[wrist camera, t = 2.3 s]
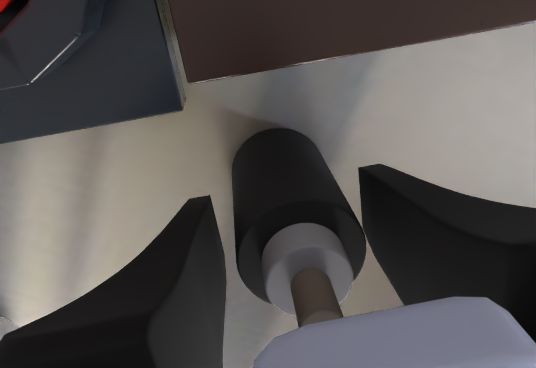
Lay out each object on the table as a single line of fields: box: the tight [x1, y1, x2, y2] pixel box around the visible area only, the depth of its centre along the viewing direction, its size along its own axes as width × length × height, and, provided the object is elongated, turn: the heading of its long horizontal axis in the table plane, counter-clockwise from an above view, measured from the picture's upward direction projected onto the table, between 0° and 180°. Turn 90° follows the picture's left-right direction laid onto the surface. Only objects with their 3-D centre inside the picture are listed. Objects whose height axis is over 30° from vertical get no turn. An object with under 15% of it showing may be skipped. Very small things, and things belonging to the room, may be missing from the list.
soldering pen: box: [232, 128, 366, 328], centre depth 12 cm, size 3×3×8 cm
